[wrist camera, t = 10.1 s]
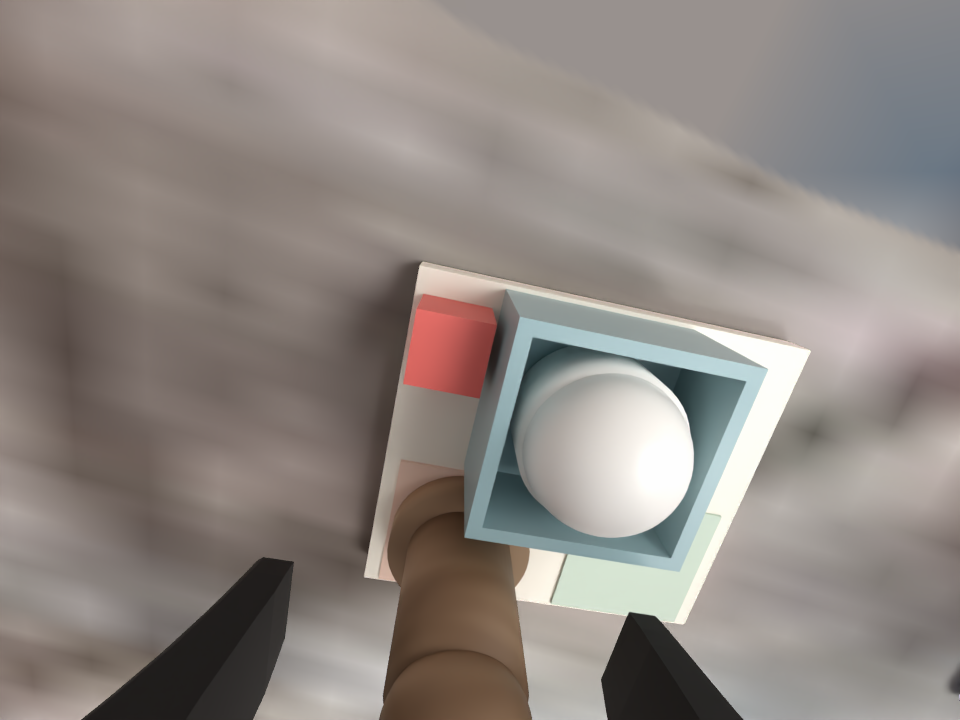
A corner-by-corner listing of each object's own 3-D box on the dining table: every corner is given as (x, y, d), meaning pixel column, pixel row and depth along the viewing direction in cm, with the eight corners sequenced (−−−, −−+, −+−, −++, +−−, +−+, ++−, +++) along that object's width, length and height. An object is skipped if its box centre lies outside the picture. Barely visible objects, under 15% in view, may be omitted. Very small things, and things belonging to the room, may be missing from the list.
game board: (788, 341, 12) (865, 373, 10) (672, 602, 15) (711, 676, 12) (422, 261, 11) (411, 275, 9) (369, 556, 14) (350, 626, 11)
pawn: (541, 489, 12) (615, 764, 6) (507, 596, 13) (543, 920, 7) (405, 464, 12) (342, 730, 6) (381, 576, 13) (308, 899, 7)
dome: (678, 360, 10) (770, 425, 7) (630, 490, 11) (692, 596, 8) (530, 329, 10) (559, 383, 7) (494, 466, 11) (505, 567, 8)
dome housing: (694, 329, 11) (768, 368, 8) (633, 493, 12) (679, 572, 10) (505, 288, 10) (519, 316, 8) (464, 463, 12) (463, 537, 9)
